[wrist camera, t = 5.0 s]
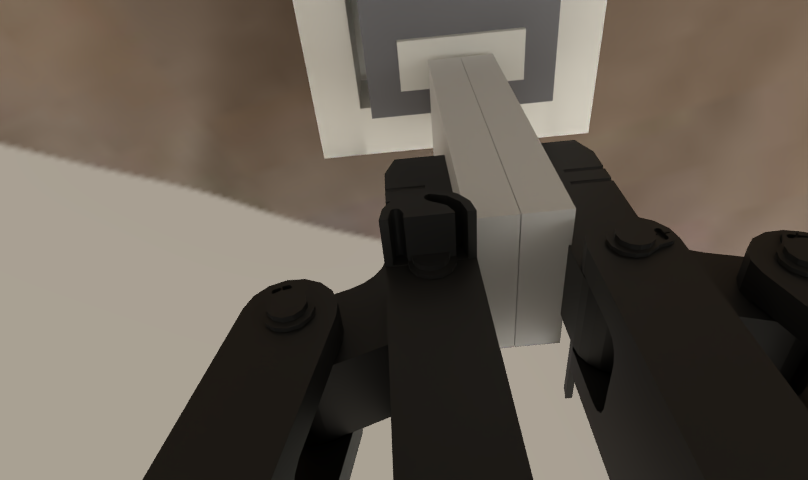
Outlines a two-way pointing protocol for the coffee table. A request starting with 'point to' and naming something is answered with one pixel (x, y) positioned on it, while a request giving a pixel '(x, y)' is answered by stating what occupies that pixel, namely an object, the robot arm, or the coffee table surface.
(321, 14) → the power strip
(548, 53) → the rocker
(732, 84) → the coffee table surface
